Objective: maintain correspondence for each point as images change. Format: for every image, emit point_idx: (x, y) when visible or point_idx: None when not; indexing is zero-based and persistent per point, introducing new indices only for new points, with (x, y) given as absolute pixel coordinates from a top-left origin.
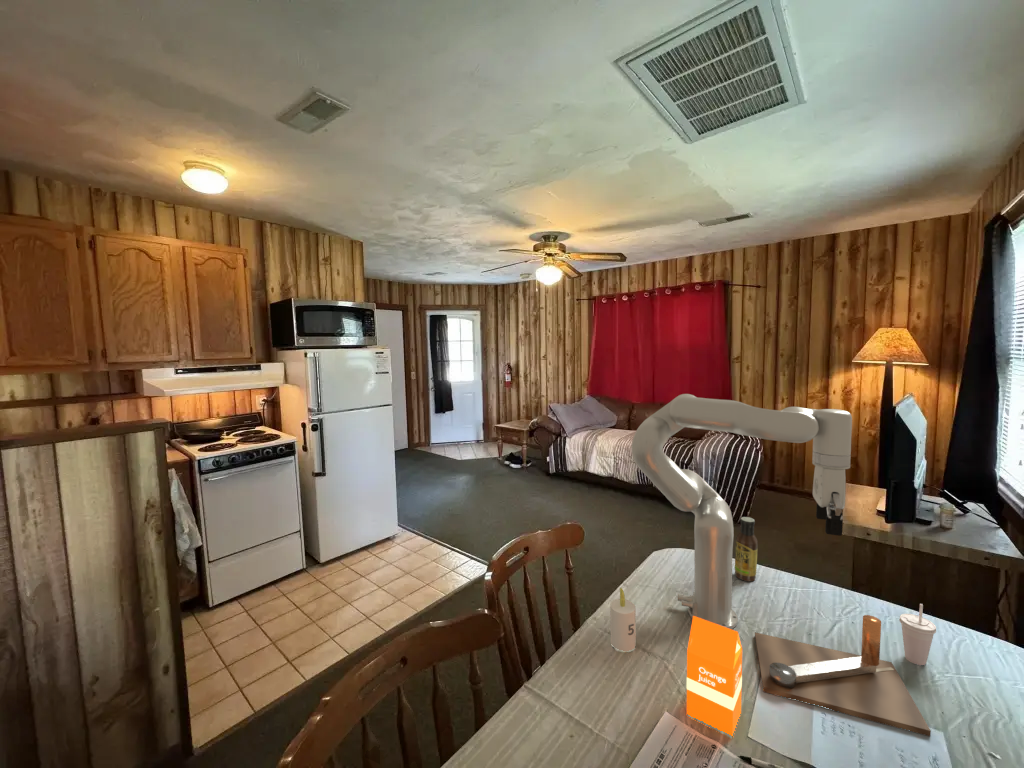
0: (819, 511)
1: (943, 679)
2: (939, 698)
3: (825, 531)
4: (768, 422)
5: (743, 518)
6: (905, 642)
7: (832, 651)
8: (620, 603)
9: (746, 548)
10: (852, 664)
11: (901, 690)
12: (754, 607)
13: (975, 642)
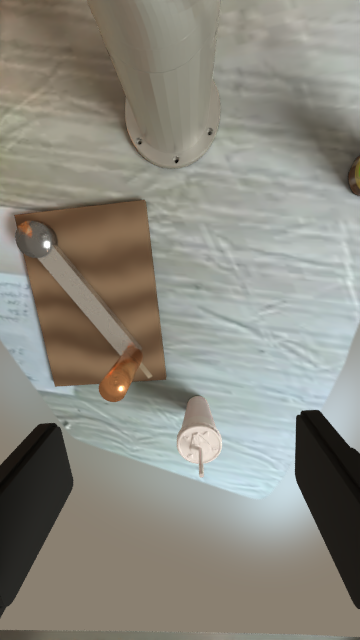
0: (324, 465)
1: (170, 421)
2: (130, 407)
3: (44, 426)
4: None
5: None
6: (192, 408)
7: (152, 313)
8: None
9: None
10: (110, 333)
11: None
12: (243, 199)
13: (273, 475)
